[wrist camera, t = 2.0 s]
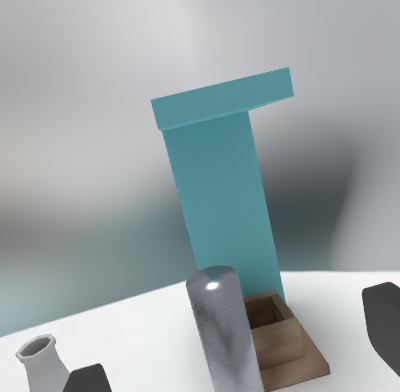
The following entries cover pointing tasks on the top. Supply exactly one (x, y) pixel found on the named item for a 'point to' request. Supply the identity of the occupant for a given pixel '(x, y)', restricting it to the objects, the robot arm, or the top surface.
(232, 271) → the peg
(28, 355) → the flask
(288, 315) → the socket
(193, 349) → the top surface
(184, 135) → the teal angle bracket
